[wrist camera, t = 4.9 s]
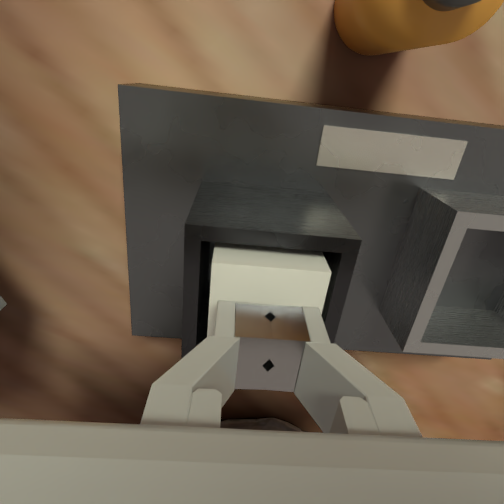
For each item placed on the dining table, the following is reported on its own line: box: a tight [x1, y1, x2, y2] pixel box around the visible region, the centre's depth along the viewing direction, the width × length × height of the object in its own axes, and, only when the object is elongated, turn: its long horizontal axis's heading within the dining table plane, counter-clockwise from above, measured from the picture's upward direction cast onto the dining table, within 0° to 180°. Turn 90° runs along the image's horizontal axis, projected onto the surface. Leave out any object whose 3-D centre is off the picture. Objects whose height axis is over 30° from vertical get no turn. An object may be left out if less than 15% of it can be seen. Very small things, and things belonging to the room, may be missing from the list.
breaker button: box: [207, 242, 332, 337], centre depth 13 cm, size 4×4×5 cm
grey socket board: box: [118, 83, 504, 359], centre depth 16 cm, size 12×20×8 cm, turn 84°
